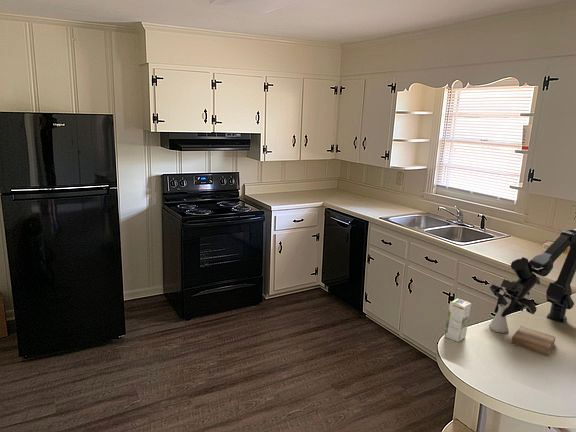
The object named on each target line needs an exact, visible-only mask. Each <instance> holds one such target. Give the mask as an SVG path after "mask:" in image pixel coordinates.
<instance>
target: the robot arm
mask: <svg viewBox="0 0 576 432" xmlns="http://www.w3.org/2000/svg"><path fill="white" fill-rule="evenodd" d="M568 248H569V250H568V252H567V255H566V258H565V260H564V263H563V265H562V267H561V269H560V272H559V275H558V276H557V279H556V280H555V281H553V282H550V283H549V284H548V287H547V289H546V292H545V296H546V302H549V303H551V305H550V310H549V313H548V314H547V315H546V318H547V319H550V320H553V321H557V322H561V323H565V321H566V320H567V318H568V317H567V316H566V312H567V310H571V309H573V307H574V305H575V302H574V301H573V298H572V293H573V290H572V287H571V284H572V281H573V278H574V277H575V275H576V228H574V229H567V230H563V231H561V232H560V234H559V236H558V237H557V238H556V240H554V241H553V242H552V243H551V245H549V246H548V248H547V249H545V251H543V253H540V254H537V255H535V256H534V257H533V258H532V259H530V260H529V259H528V258H527V257H524V256H523V257H521V258H517V259H514V260H513V261H512V262H510V263H511V264H510V268H511V270H512V271H513V272H514V274H515V276H516V277H517V278H518V279H517V280H512V281H510V280H508V279H505V278H504V279H503V280H502V282H501V284H500V285H499V284H495V283H494V284H493V283H492V284H491V285H490V286H489V289H490V291H491V292H492V294H493V295H494V296H495V298H497V302H496V306H495V308H494V311H493V312H494V313H495V314H497V311H498V308H499V307H498V305H499V304H502V305H505V306H507V305H508V304H509V305H508V306H507V308H506V310H505V311H504V312H503V313H502V315H501V316H502V317H505V316H506V317H507V316H509V315H512V314H514V313H517V312H523V311H524V308H525V311H526V312H527V313H528V314H531V315H534V314H535V313H536V312H537V306H536V305H535V304H534V302H533V301H532V300H530V299H528V298H526V296H529V295H530V291H531V290H532V289H533V288H534V286H535V285H539V286H540V284H541V281H540V279H541V278H540V277H538V276H541V277H547V276H548V275H549V274H550V273H551V272H552V270H553V268H554V262H555V261H556V260H558V259H559V257H561V255H562V254H563V253H564V252H565V251H566V250H567V249H568ZM537 275H538V276H537ZM503 288H504V289H503ZM508 300H510V303H509V302H508Z"/></svg>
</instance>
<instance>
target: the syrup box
mask: <svg viewBox="0 0 576 432" xmlns="http://www.w3.org/2000/svg"><path fill="white" fill-rule="evenodd" d="M471 307H472V303H471V302H469V301H466V300H463V299H460V298H455V299H454V300H452V301H450V303H449V307H448V312H447V319H446V326H445V331H444V337H445V338H446V339H449V340H452V341H454V342H457V343H459V342H461V341H462V340H464V339H465V338H466V335H467V329H468V324H469V318H470V313H471V312H470V311H471Z"/></svg>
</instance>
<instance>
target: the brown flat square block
mask: <svg viewBox="0 0 576 432" xmlns="http://www.w3.org/2000/svg"><path fill="white" fill-rule="evenodd" d="M511 337H512V338H511V342H510V343H511V344H512V345H513V344H514V346H517V347H519V346H520V348H522V347H523V349H525V348H526V349H525V350H528V349H529V350H528V351H531V352H534V353H536V354H541V355H543V356H546V357H547V356H549V354H550V352H551V350H552V349H551V348H553V347H554V346H555V341H556V336H554V335H551V334H547V333H545V332H541V331H540V330H539V331H538V330H535V329H532V328H528V327H525V326H524V325H523V326H522V325H520V327H518V328H517V330H516V331H515V332H514V333H513V335H512V336H511Z"/></svg>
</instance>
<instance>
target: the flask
mask: <svg viewBox="0 0 576 432" xmlns="http://www.w3.org/2000/svg"><path fill="white" fill-rule="evenodd" d="M498 307H499V308H498V311H497V313H495V316H494V317H493V318H492V320H491V321H490V323H489V324H488V327H489V329H490V330H492V331H493V332H495V333H502V334H505V333H510V332H509V327H508V321H507V316H505V317H502V316H501V315H502V313H503V312H504V311H505V310H506V308H507V307H508V306H507V305H506V306H505V305H502V304H499V305H498Z"/></svg>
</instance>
